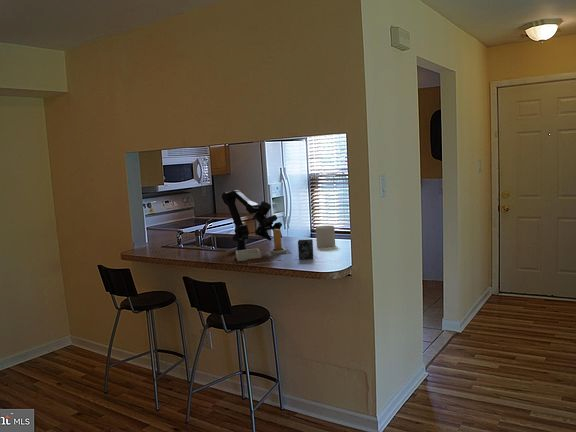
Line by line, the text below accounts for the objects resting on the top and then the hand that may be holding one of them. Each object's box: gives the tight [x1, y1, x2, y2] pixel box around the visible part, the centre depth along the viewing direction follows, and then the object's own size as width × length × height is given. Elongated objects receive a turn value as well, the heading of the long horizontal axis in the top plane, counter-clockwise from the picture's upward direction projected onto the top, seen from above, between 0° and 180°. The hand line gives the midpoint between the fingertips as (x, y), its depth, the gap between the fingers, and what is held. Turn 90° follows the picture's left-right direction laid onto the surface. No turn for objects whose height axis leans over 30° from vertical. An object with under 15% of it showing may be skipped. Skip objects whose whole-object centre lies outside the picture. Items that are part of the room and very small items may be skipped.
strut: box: [272, 228, 283, 251], centre depth 306 cm, size 4×4×14 cm
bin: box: [235, 248, 262, 263], centre depth 301 cm, size 14×14×4 cm
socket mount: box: [265, 247, 293, 257], centre depth 306 cm, size 14×14×3 cm
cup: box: [315, 225, 336, 248], centre depth 322 cm, size 12×12×12 cm
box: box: [297, 238, 314, 260], centre depth 289 cm, size 8×6×11 cm
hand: (276, 238), depth 306 cm, fingers open, 9 cm apart
